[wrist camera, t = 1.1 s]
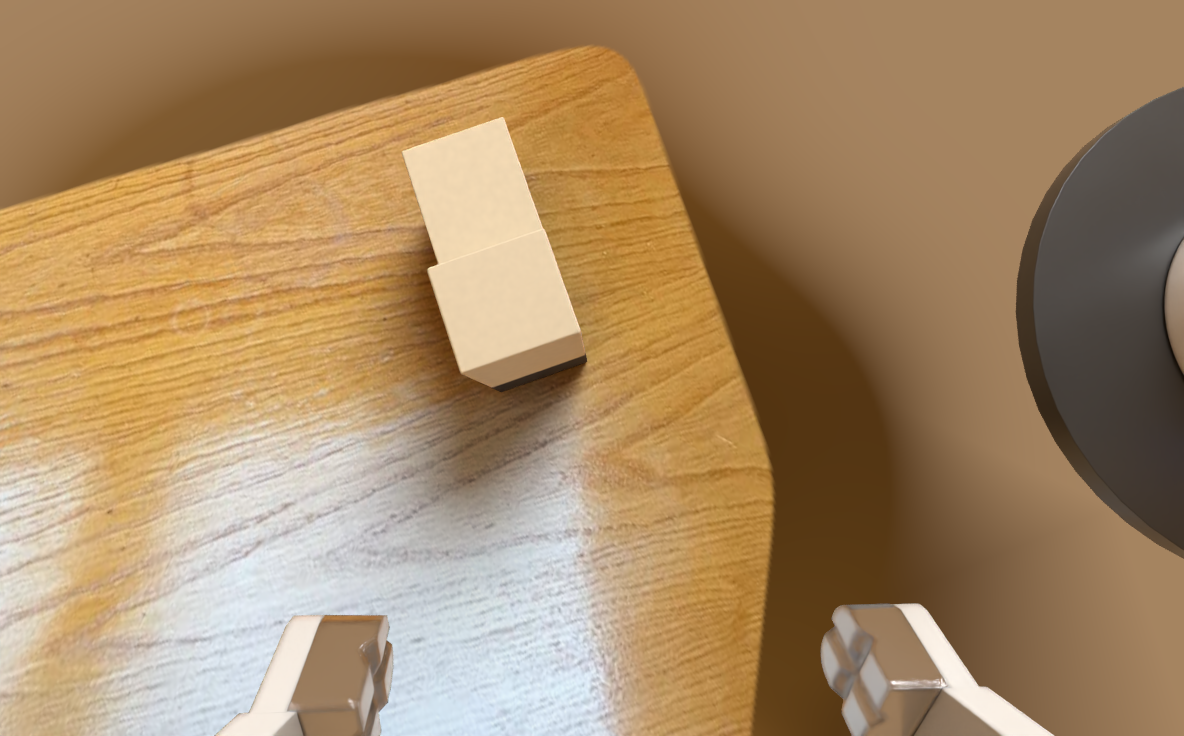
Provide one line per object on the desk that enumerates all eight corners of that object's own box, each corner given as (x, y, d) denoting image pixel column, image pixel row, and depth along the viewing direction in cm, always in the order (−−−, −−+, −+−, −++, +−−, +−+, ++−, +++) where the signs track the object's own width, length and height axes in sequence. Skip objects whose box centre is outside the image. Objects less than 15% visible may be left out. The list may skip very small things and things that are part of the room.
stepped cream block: (521, 174, 29) (490, 77, 21) (587, 361, 28) (581, 332, 20) (437, 203, 29) (376, 116, 21) (500, 392, 28) (460, 375, 20)
